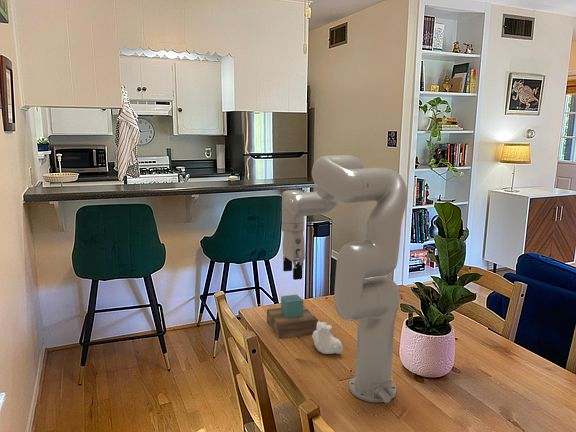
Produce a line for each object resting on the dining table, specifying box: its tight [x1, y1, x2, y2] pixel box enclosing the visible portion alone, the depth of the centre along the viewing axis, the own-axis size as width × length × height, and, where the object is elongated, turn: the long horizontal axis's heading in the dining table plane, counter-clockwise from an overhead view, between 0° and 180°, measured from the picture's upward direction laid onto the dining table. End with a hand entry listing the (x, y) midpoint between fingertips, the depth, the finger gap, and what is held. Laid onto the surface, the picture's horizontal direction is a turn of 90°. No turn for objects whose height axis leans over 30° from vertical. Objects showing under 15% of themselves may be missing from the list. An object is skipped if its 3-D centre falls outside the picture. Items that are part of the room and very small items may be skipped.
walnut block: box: [266, 304, 319, 340], centre depth 162 cm, size 14×14×5 cm
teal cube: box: [280, 294, 304, 319], centre depth 161 cm, size 6×6×6 cm
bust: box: [311, 320, 344, 355], centre depth 144 cm, size 12×8×11 cm
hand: (292, 274), depth 159 cm, fingers open, 9 cm apart
